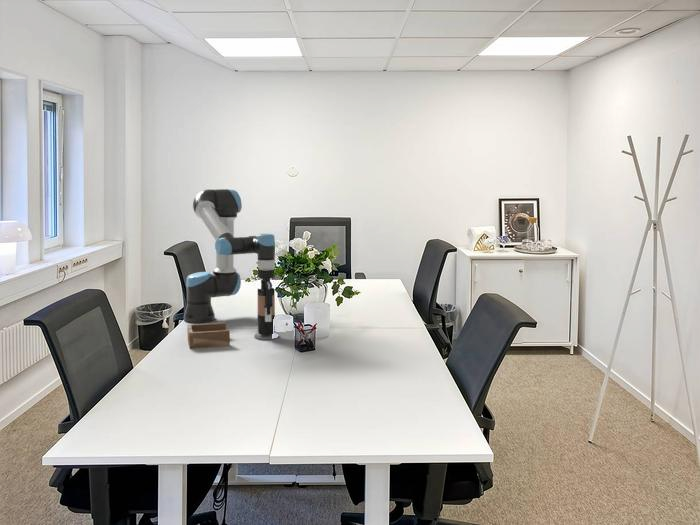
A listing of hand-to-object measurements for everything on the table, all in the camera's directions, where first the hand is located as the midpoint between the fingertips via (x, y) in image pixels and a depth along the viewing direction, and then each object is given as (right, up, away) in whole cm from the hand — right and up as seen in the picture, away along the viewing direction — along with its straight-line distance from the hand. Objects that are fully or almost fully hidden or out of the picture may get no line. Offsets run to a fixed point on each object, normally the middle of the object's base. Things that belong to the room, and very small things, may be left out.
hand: (266, 319), depth 264 cm
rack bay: (-24, -9, -9) cm, 27 cm away
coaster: (0, -8, +1) cm, 8 cm away
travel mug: (0, -6, +1) cm, 6 cm away
